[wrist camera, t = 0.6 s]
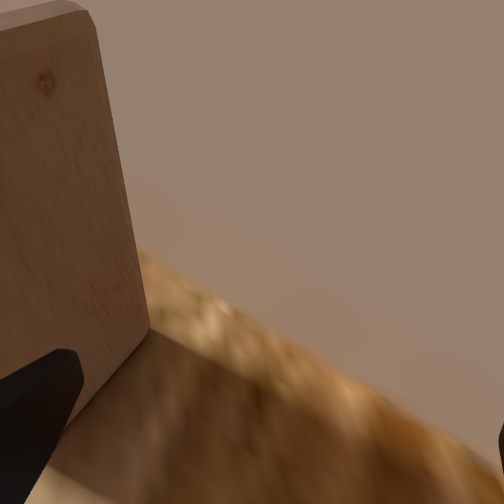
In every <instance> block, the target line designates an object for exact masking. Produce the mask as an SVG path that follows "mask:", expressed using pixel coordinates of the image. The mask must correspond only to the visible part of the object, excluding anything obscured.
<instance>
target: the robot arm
mask: <svg viewBox="0 0 504 504" xmlns="http://www.w3.org/2000/svg"><path fill="white" fill-rule="evenodd" d="M83 385H84V373H83V369H82V366H81V362H80V359H79V355H78V353H77V352H76V351H75V350H72V349H64V348H58V349H55V350H53V351H51V352H50V353H48V354H46V355H44V356H42V357H40V358H39V359H37V360H35V361H33V362H31V363H30V364H28V365H26V366H24V367H22V368H20V369H19V370H17V371H15V372H13V373H11V374H9V375H8V376H6V377H4V378H2V379H0V504H24V503H25V501H26V499H27V497H28V496H29V494H30V492H31V490H32V489H33V487H34V485H35V483H36V482H37V480H38V478H39V477H40V475H41V473H42V471H43V470H44V468H45V466H46V464H47V463H48V461H49V459H50V457H51V455H52V453H53V452H54V450H55V448H56V446H57V444H58V442H59V440H60V437H61V435H62V433H63V431H64V428H65V426H66V424H67V422H68V420H69V417H70V415H71V413H72V411H73V408H74V406H75V404H76V402H77V400H78V397H79V395H80V393H81V391H82V388H83ZM499 451H500V456H501V462H502V468H503V473H504V423H503V426H502V429H501V431H500V434H499Z"/></svg>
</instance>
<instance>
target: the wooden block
mask: <svg viewBox="0 0 504 504" xmlns="http://www.w3.org/2000/svg"><path fill="white" fill-rule="evenodd" d="M149 326H150V320H149V314H148V309H147V304H146V298H145V293H144V287H143V282H142V276H141V271H140V266H139V260H138V255H137V249H136V244H135V239H134V233H133V228H132V222H131V217H130V211H129V207H128V201H127V195H126V190H125V184H124V179H123V173H122V168H121V163H120V157H119V152H118V146H117V141H116V136H115V130H114V125H113V119H112V114H111V108H110V103H109V98H108V92H107V88H106V82H105V76H104V71H103V66H102V60H101V54H100V49H99V44H98V38H97V33H96V27H95V25H94V23H93V21H92V19H91V17H90V15H89V13H88V11H87V10H86V9H84V8H83V7H81V6H80V5H78V4H76V3H73V2H70V1H67V0H0V379H2V378H4V377H6V376H8V375H9V374H11V373H13V372H15V371H17V370H19V369H20V368H22V367H24V366H26V365H28V364H30V363H31V362H33V361H35V360H37V359H39V358H40V357H42V356H44V355H46V354H48V353H50V352H51V351H53V350H55V349H58V348H64V349H72V350H75V351H76V352H77V353H78V355H79V359H80V362H81V366H82V369H83V373H84V385H83V388H82V391H81V393H80V395H79V397H78V400H77V402H76V404H75V406H74V408H73V411H72V413H71V415H70V417H69V420H68V422H67V424H66V426H65V428H66V427H67V426H68V425H69V423H70V422H71V421H72V420H73V419H74V418H75V417H76V415H77V414H78V413H79V412H80V411H81V410H82V409H83V407H84V406H85V405H86V404H87V403H88V402H89V401H90V399H91V398H92V397H93V396H94V395H95V394H96V393H97V392H98V390H99V389H100V388H101V387H102V386H103V385H104V384H105V382H106V381H107V380H108V379H109V378H110V377H111V376H112V374H113V373H114V372H115V371H116V370H117V369H118V368H119V366H120V365H121V364H122V363H123V362H124V361H125V360H126V358H127V357H128V356H129V355H130V354H131V353H132V352H133V351H134V349H135V348H136V347H137V346H138V345H139V344H140V343H141V341H142V340H143V339H144V338H145V336H146V334H147V332H148V329H149ZM65 428H64V429H65Z"/></svg>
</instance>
